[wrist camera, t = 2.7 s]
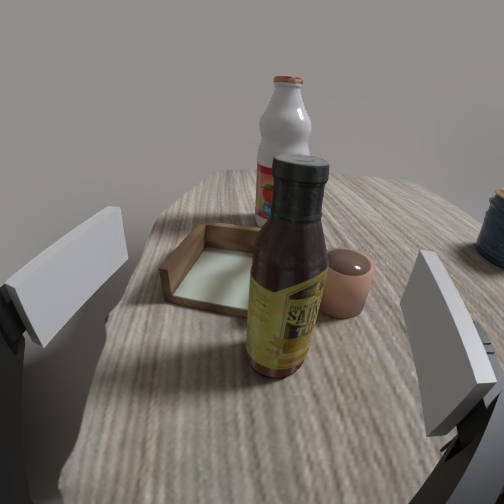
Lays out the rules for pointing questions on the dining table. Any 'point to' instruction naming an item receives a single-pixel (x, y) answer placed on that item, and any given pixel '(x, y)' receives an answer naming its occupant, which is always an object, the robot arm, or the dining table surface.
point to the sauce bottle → (288, 268)
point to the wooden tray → (211, 268)
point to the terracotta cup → (346, 283)
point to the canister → (493, 231)
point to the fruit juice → (280, 138)
